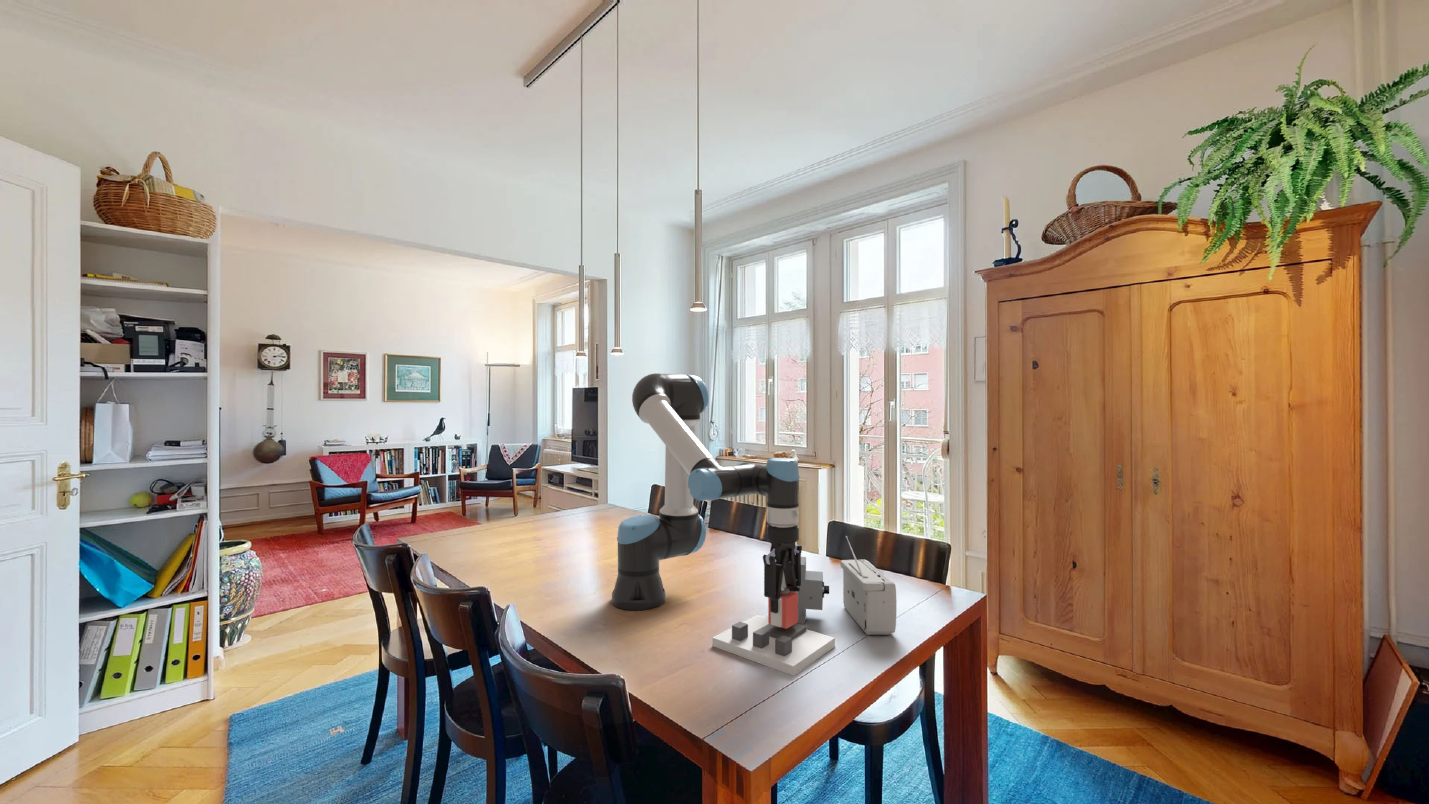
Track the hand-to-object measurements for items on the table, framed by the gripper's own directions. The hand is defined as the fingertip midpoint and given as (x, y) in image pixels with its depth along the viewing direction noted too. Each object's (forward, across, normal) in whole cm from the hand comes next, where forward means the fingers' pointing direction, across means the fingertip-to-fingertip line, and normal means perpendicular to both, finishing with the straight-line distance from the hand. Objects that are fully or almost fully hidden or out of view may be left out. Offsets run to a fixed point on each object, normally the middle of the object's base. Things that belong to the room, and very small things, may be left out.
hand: (783, 621), depth 134 cm
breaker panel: (+5, -4, 0) cm, 6 cm away
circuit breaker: (+5, +15, +4) cm, 16 cm away
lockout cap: (0, 0, 0) cm, 0 cm away
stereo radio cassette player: (+5, +24, -10) cm, 26 cm away
